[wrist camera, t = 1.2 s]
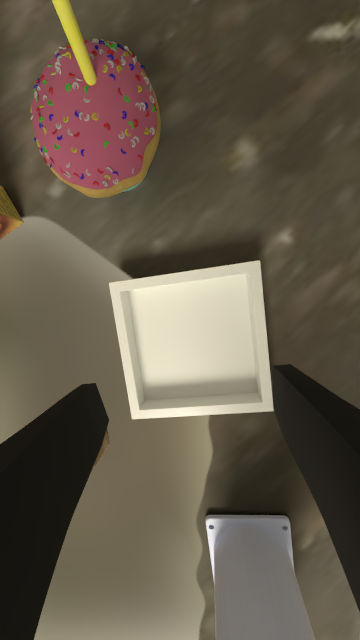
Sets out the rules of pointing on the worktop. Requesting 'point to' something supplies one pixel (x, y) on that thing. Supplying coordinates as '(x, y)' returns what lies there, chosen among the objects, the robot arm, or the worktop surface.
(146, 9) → the worktop surface
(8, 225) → the candy box
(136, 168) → the cupcake
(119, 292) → the tray
